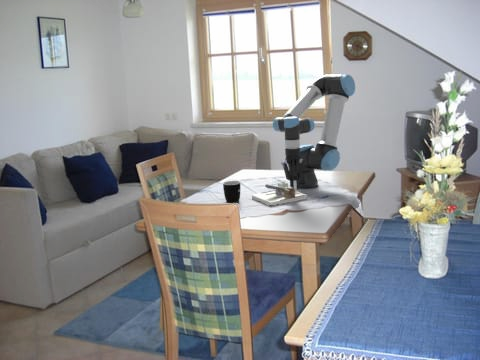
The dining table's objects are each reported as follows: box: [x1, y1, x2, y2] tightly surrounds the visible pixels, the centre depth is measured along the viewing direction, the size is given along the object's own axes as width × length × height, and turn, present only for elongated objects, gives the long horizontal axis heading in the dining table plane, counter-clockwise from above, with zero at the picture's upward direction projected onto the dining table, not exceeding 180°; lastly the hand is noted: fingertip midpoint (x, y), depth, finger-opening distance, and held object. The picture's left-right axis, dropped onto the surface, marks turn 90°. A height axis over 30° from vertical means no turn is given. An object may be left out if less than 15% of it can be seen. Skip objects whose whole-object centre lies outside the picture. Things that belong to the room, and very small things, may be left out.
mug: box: [222, 180, 241, 204], centre depth 295 cm, size 12×9×10 cm
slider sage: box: [277, 180, 289, 191], centre depth 303 cm, size 4×4×5 cm
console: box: [251, 189, 308, 206], centre depth 294 cm, size 22×19×4 cm
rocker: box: [265, 183, 287, 191], centre depth 294 cm, size 14×4×2 cm, turn 119°
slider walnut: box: [284, 187, 295, 198], centre depth 288 cm, size 4×4×5 cm
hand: (294, 192), depth 290 cm, fingers closed
